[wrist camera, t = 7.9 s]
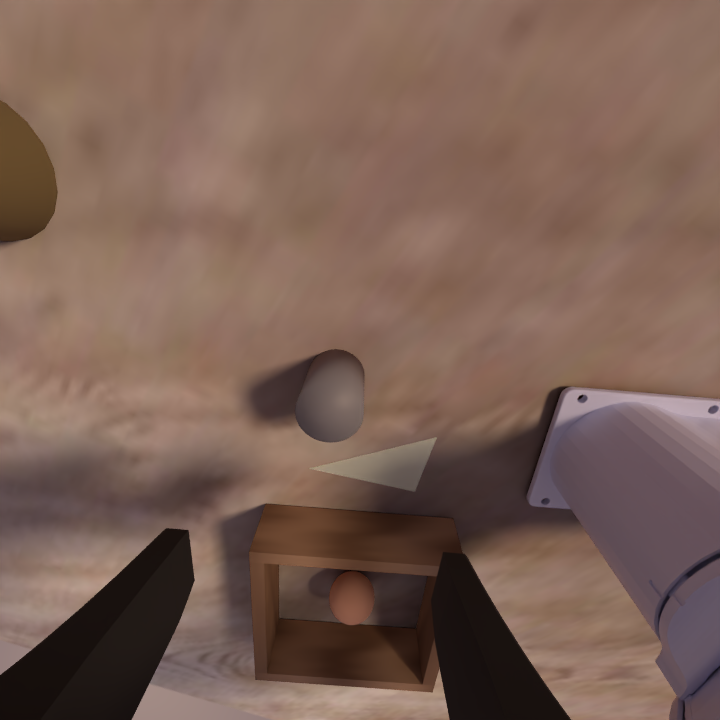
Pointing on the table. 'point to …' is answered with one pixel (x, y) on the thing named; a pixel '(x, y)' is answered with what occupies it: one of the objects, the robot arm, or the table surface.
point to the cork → (23, 179)
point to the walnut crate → (338, 640)
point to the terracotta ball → (351, 598)
